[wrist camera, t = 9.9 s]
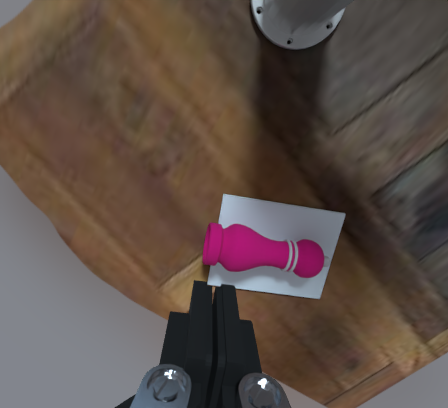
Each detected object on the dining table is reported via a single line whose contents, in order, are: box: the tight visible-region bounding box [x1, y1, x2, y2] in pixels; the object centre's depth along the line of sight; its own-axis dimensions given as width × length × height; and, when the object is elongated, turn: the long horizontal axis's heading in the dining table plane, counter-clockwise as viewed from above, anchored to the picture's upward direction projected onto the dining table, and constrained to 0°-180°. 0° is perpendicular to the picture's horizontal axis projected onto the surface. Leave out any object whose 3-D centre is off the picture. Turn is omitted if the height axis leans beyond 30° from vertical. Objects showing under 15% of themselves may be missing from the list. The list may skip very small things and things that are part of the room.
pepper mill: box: [203, 223, 331, 278], centre depth 46 cm, size 7×7×20 cm
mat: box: [207, 194, 346, 299], centre depth 50 cm, size 16×20×1 cm
